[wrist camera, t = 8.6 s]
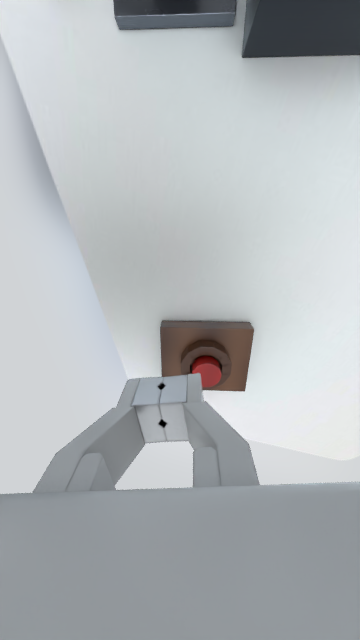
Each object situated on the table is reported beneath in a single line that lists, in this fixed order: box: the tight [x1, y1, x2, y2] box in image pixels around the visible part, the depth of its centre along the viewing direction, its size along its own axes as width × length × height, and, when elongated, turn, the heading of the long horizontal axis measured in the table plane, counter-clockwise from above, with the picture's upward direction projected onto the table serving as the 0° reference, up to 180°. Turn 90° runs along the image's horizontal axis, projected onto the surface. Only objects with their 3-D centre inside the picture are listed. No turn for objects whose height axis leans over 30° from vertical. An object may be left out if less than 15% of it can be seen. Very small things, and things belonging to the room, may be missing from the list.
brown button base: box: [160, 321, 254, 391], centre depth 30 cm, size 12×10×4 cm
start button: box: [192, 356, 221, 387], centre depth 28 cm, size 4×4×2 cm
